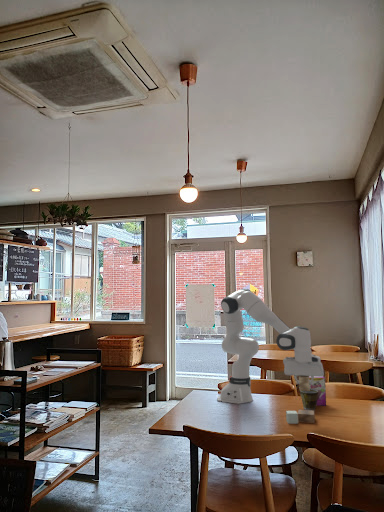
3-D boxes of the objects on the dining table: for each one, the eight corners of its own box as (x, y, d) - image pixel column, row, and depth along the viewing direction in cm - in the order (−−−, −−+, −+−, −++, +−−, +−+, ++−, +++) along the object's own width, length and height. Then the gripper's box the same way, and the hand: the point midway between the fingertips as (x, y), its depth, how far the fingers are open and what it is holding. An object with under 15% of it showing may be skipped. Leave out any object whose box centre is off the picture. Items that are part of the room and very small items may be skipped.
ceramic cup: (304, 405, 227) (303, 388, 228) (321, 408, 221) (320, 390, 223) (296, 410, 217) (295, 392, 218) (314, 413, 211) (313, 394, 212)
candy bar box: (307, 405, 226) (306, 377, 228) (305, 403, 231) (304, 375, 233) (326, 406, 225) (325, 377, 227) (324, 403, 230) (323, 375, 232)
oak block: (299, 390, 199) (298, 376, 200) (299, 388, 204) (299, 374, 205) (309, 391, 198) (308, 377, 199) (309, 388, 203) (308, 375, 203)
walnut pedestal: (298, 421, 197) (297, 413, 197) (298, 417, 204) (298, 409, 205) (314, 423, 194) (314, 414, 195) (314, 418, 202) (314, 410, 202)
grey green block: (288, 423, 194) (287, 413, 195) (286, 420, 199) (285, 410, 200) (298, 423, 194) (297, 413, 195) (296, 420, 199) (295, 410, 200)
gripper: (282, 357, 203) (283, 384, 202) (323, 358, 197) (324, 386, 195) (283, 356, 209) (284, 382, 207) (323, 357, 203) (324, 384, 201)
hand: (304, 384), depth 201 cm, fingers closed on oak block, 5 cm apart
